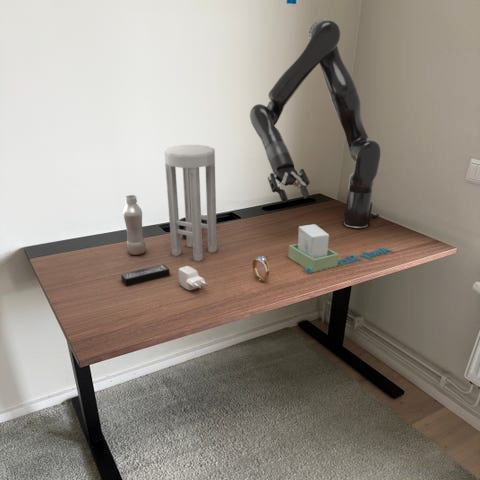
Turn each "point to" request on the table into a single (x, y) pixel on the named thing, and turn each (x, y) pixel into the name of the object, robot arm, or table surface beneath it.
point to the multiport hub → (145, 275)
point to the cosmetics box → (313, 241)
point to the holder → (313, 263)
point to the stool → (191, 196)
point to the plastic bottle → (134, 226)
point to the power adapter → (190, 278)
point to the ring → (266, 266)
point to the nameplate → (366, 255)
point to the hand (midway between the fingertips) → (296, 199)
